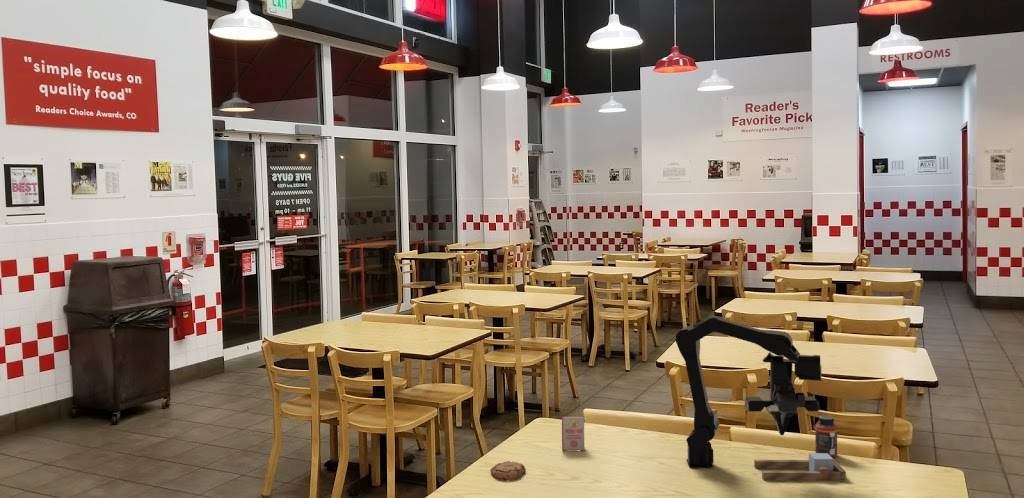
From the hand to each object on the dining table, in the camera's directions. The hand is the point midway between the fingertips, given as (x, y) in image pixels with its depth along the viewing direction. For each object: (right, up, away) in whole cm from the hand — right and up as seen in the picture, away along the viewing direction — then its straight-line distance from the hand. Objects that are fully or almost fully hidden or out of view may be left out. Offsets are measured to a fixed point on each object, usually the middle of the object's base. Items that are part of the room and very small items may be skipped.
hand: (781, 434), depth 218 cm
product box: (-55, -11, +26) cm, 62 cm away
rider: (+11, -11, 0) cm, 15 cm away
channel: (+4, -11, 0) cm, 11 cm away
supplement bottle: (+18, -10, +15) cm, 26 cm away
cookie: (-75, -13, +5) cm, 76 cm away
